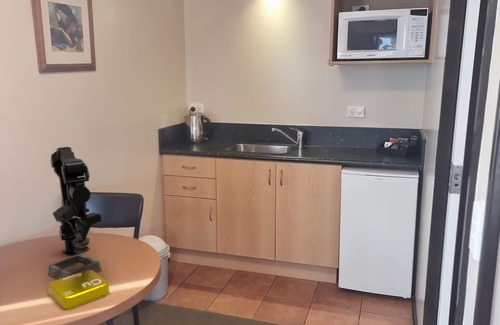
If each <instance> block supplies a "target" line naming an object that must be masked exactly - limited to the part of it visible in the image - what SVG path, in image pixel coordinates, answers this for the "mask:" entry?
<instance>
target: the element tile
mask: <svg viewBox="0 0 500 325" xmlns="http://www.w3.org/2000/svg"><path fill="white" fill-rule="evenodd" d="M48 290H49V291H48V292H49V293H48V294H49V297H50V298H52V300H54V302H55V303H56V304H58V306H60V307H61V308H62V310H66V311H67V310H73V309H75V308H77V307H80V306H83V305H85V304H86V305H87V304H89V303H91V302H94V301H97V300H99V299H101V298H104V297H107V296H108V295H109V294H110V286H109V281H108V280H107V279H105V278H103V277H102V276H101V275H99V274H98V273H96V272H94V271H92V270H86V271H83V272H80V273H77V274H74V275H71V276H67V277H64V278H61V279H58V280H57V279H55V280H52V281H50V282H49V283H48Z"/></svg>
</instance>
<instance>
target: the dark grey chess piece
mask: <svg viewBox="0 0 500 325" xmlns="http://www.w3.org/2000/svg"><path fill="white" fill-rule="evenodd" d="M78 222H80V219H78V221H76V222H75V228H76V230H75V232H76V239H74V240H73V241H72V243H73V244H74V246H75V247H76V249H75V250H74V252H76V254H81V253H86V252H88V251H90V249H91V248H90V247H89V243H90V240H91V239H90V238H89V237H86V239H84V240H83V239H82V236H81V231H80V227H79V226H78V225H77V224H76V223H78Z"/></svg>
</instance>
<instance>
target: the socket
mask: <svg viewBox="0 0 500 325" xmlns="http://www.w3.org/2000/svg"><path fill="white" fill-rule="evenodd" d="M86 270H92V271H94V272H96V273H97V274H98V273H101V272H102V267H101V262H100V260H97V259H94V258H91V257H89V256H86V255H85V254H84V255H83V254H81V253H76V254H74V255H71V256H69V257H67V258H65V259H62V260H60V261H57V262H54V263H51V264H49V265H48V271H47V275H48V276H50V277H51V278H53V279H55V280H58V279H61V278H64V277H67V276H71V275H74V274H77V273H80V272H83V271H86Z"/></svg>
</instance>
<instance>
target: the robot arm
mask: <svg viewBox="0 0 500 325" xmlns="http://www.w3.org/2000/svg"><path fill="white" fill-rule="evenodd" d="M55 150H56V151H54V152H53V153H52V154H51V155H50V166H51V168H53V172H54V173H55V175H56V176H57V178H58V179H59V188H60V194H61V200H62V201H61V203H62V206H61V207H59V208H57V209H56V210H55V211H53V212H52V215H53V217H54V219H55V221H56V222H59V223H60V225H59V233H58V234H59V238H60V239H61V242H62V241H64V249H62V250H61V252H62V253H63V254H66V255H68V256H74V255H77V253H76V252H74V250H75V249H76V247H75V246H74V244H73V243H72V241H73V240H74V239H76V232H75V230H76V228H75V222H76V221H78V219H80V222H78V223H76V224H77V225H78V226H79V227H80V231H81V236H82V239H83V240H84V239H86V238H87V236H88V234H89V232H90V229H91V227H92V225H96V224H98V223H101V222H102V221H103V219H102V215H101V214H100V213H97V212H94V211H93V212H90V208H87V202H88V201H89V200H90V199H91V191H90V189H89V188H88V187H87V186H86V182H89V181H90V176H91V175H90V171H89V168H88V165H87V164H86V163H85V162H84V161H83V160H82V159H81V158H76V156H75V152H74V151H73V150H72V147H69V146H63V147H62V146H61V147H57V148H56V149H55Z"/></svg>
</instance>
